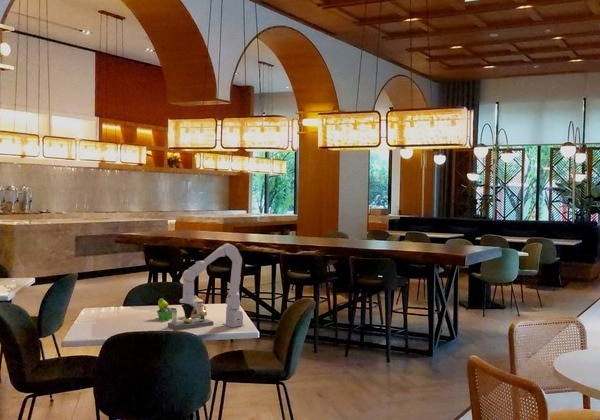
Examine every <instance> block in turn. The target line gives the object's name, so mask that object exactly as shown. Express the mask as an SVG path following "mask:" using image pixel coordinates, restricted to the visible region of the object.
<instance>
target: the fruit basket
mask: <svg viewBox="0 0 600 420" xmlns="http://www.w3.org/2000/svg"><path fill="white" fill-rule="evenodd" d="M157 303H158V305H157V307H158V310H156V313H157V316H158V320H159V321H170V320H172V310H176V311H177V308H175V307H169V303H168V302H167V301H166V300H165V299H164V298H162V297H161V298H159V299H158V301H157ZM169 319H170V320H169Z"/></svg>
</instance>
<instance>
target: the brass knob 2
mask: <svg viewBox="0 0 600 420" xmlns="http://www.w3.org/2000/svg"><path fill="white" fill-rule="evenodd" d="M207 313H208V312H207V309H206V310H204V309H203V310H199V311H198V315H199V316H200V317H199V319H206V318H205V316H207Z"/></svg>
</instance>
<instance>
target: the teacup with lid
mask: <svg viewBox="0 0 600 420" xmlns="http://www.w3.org/2000/svg"><path fill="white" fill-rule="evenodd" d="M194 301H195V302H196V303H197V306H196V307H194V308H193V310H192V313H191V318H192V319H194V318H196V319H198V318H200V316H199V315H198V311H199V310H206V311H207V306H206V305H205V304H204V299H201V298H199V297H198V296H197V295H194Z"/></svg>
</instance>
